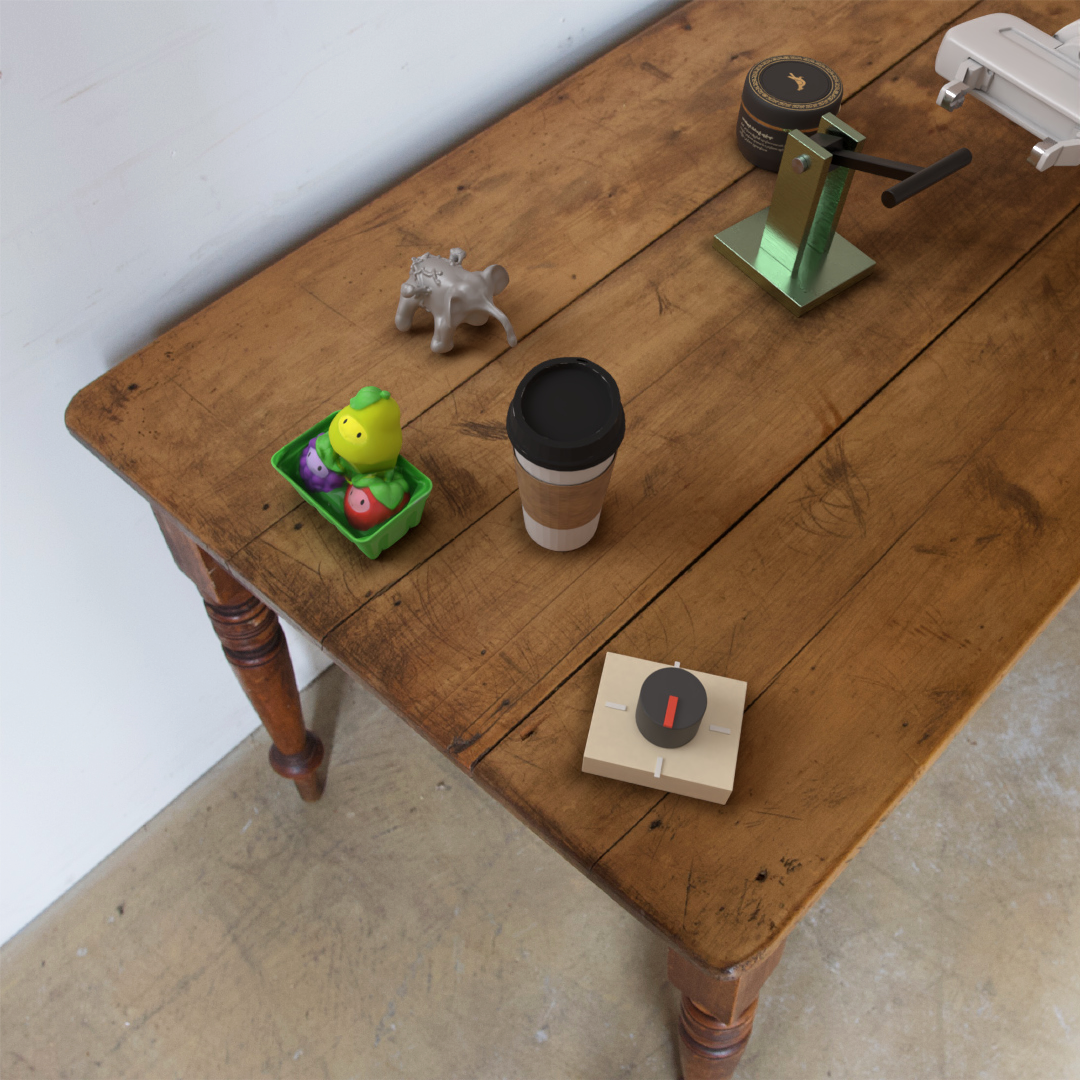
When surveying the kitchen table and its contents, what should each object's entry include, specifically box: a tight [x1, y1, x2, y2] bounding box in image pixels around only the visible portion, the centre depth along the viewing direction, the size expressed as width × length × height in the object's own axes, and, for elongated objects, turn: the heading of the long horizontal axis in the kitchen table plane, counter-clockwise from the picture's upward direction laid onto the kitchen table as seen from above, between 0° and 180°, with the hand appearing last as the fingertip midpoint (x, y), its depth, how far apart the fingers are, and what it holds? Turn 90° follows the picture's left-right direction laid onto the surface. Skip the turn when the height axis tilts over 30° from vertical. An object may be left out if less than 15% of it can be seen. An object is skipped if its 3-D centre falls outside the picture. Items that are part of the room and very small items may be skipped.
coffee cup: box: [505, 356, 627, 552], centre depth 74 cm, size 8×8×15 cm
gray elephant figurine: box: [394, 247, 518, 354], centre depth 88 cm, size 9×12×8 cm
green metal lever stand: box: [711, 112, 877, 318], centre depth 91 cm, size 12×10×14 cm
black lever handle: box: [809, 133, 973, 209], centre depth 83 cm, size 13×9×2 cm
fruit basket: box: [270, 385, 433, 561], centre depth 76 cm, size 11×9×11 cm
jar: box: [735, 54, 844, 174], centre depth 103 cm, size 10×10×8 cm
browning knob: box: [635, 667, 707, 748], centre depth 66 cm, size 4×4×4 cm
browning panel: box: [581, 651, 748, 805], centre depth 69 cm, size 10×9×3 cm
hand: (989, 129), depth 80 cm, fingers open, 8 cm apart
